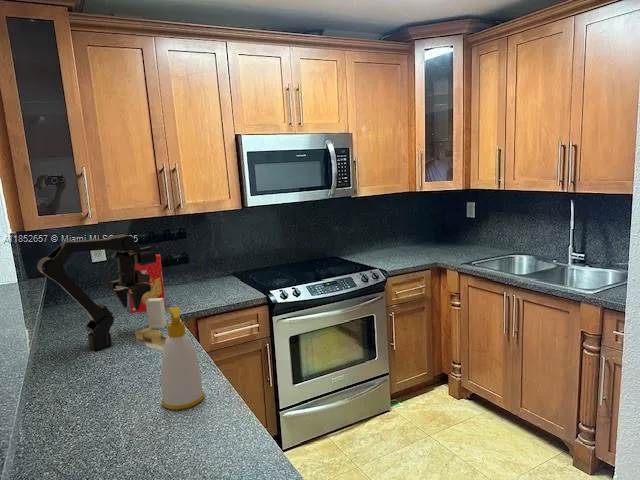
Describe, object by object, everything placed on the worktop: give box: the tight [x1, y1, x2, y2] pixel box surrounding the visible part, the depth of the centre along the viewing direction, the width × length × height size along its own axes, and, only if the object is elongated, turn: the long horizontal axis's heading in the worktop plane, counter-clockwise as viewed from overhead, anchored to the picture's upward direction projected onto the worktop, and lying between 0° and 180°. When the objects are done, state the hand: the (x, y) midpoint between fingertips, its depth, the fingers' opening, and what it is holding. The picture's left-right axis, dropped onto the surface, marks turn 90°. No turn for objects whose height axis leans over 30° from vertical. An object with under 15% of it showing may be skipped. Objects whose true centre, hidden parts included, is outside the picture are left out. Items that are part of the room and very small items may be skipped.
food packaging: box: [128, 253, 166, 314], centre depth 203 cm, size 15×5×25 cm, turn 109°
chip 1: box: [134, 327, 152, 341], centre depth 164 cm, size 4×4×4 cm
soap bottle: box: [160, 306, 205, 411], centre depth 118 cm, size 11×12×26 cm
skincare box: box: [145, 298, 168, 329], centre depth 178 cm, size 6×4×12 cm
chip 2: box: [144, 328, 161, 344], centre depth 161 cm, size 4×4×4 cm
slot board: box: [135, 334, 168, 352], centre depth 160 cm, size 16×8×2 cm, turn 58°
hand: (131, 308), depth 166 cm, fingers open, 7 cm apart
